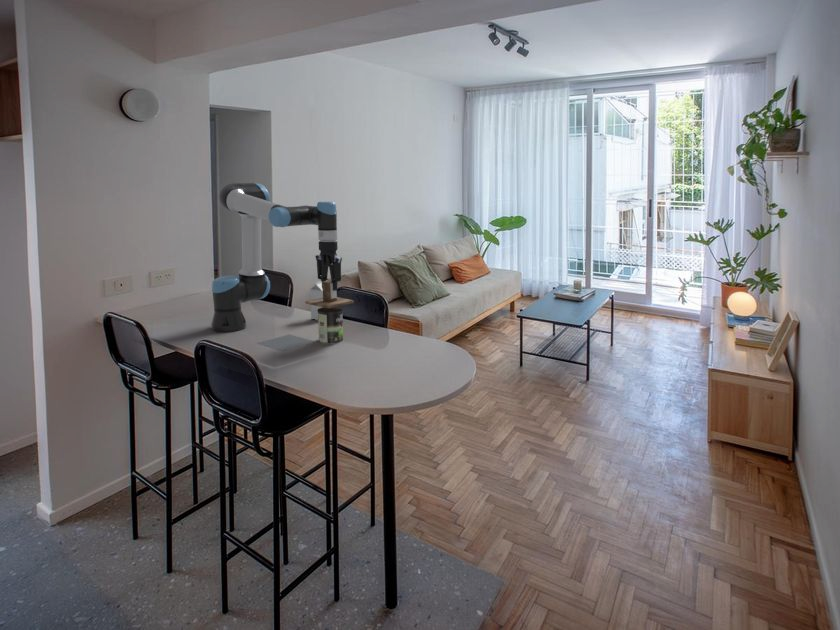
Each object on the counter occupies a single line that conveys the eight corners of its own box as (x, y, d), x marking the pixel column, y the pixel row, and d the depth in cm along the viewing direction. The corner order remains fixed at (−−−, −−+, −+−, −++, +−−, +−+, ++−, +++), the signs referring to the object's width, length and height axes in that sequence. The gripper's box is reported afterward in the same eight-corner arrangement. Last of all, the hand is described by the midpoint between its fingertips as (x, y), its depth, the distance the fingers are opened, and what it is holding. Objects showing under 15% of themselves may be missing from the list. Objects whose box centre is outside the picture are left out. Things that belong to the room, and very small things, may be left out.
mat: (256, 344, 226) (256, 343, 226) (289, 335, 239) (289, 334, 239) (282, 352, 216) (282, 351, 216) (315, 342, 229) (315, 341, 229)
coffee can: (346, 339, 235) (345, 307, 231) (338, 346, 225) (337, 312, 222) (324, 337, 237) (322, 305, 233) (314, 344, 227) (313, 311, 224)
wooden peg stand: (305, 303, 226) (304, 282, 224) (331, 298, 236) (330, 277, 234) (328, 308, 217) (327, 286, 215) (354, 302, 228) (353, 281, 226)
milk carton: (331, 318, 269) (330, 280, 265) (323, 321, 263) (321, 282, 259) (319, 316, 272) (318, 279, 268) (311, 319, 266) (309, 281, 261)
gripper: (306, 239, 223) (309, 296, 229) (335, 243, 213) (337, 301, 218) (320, 238, 229) (322, 293, 234) (349, 241, 218) (350, 298, 224)
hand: (329, 297), depth 226 cm, fingers closed on wooden peg stand, 4 cm apart
